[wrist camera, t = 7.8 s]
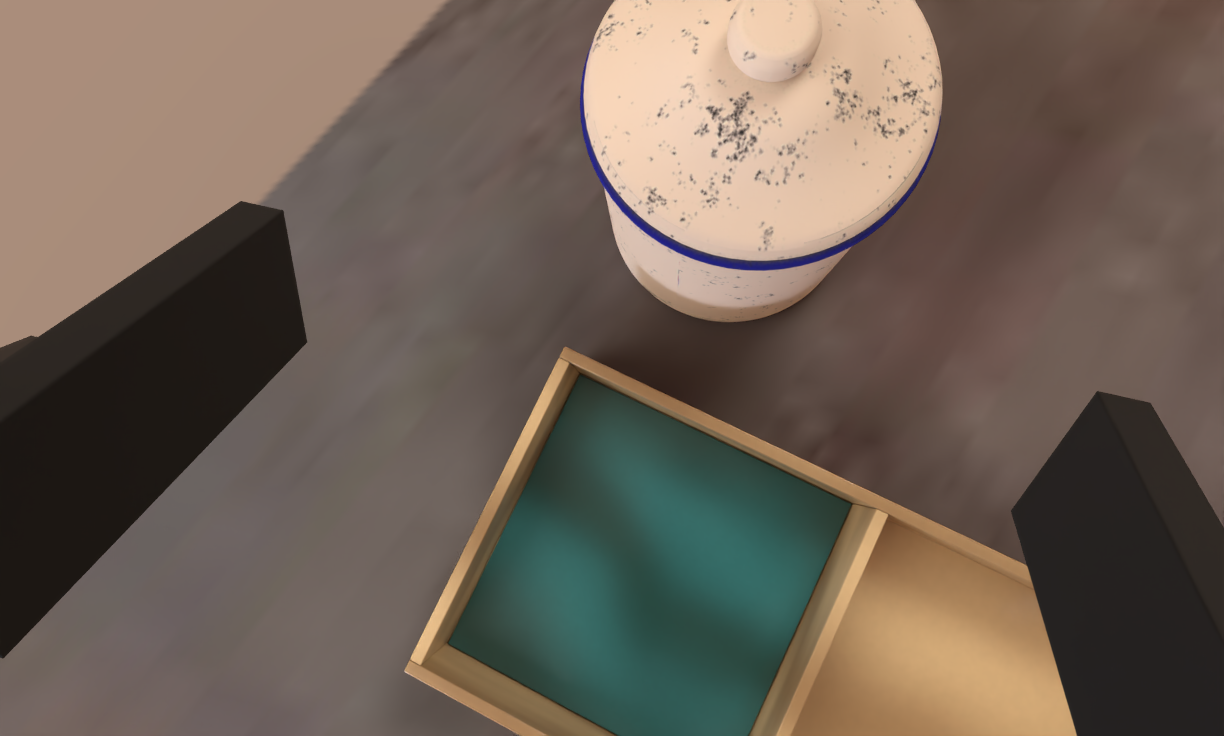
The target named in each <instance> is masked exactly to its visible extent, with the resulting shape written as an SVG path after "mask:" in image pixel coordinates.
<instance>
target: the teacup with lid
mask: <svg viewBox="0 0 1224 736" xmlns="http://www.w3.org/2000/svg"><path fill="white" fill-rule="evenodd" d="M941 108H942V74H941V67H940V60H939V56H938V52H937V48H936V45H935V42H934V39H933V36H932V33H931V31H930V28H929V26H928V24H927V22H926V20H925V18H924V16H923V13H922V12H921V10H920V8H919V7H918V5H917V4H916V2H915V0H615V1H614V2H613V3H612V5H611V6H610V8H609V10H608V11H607V13H606V15H605V16H604V18H603V20H602V22H601V24H600V26H599V28H598V30H597V32H596V35H595V37H594V39H593V41H592V44H591V47H590V49H589V52H588V55H587V58H586V62H585V66H584V70H583V76H582V83H581V96H580V111H581V123H582V129H583V135H584V140H585V143H586V147H587V151H588V154H589V157H590V159H591V162H592V164H593V167H594V169H595V171H596V173H597V175H598V177H599V179H600V181H601V183H602V185H603V186H604V189H605V194H606V199H607V203H608V208H609V213H610V218H611V222H612V227H613V232H614V235H615V239H616V243H617V245H618V248H619V250H620V253H621V255H622V257H623V259H624V261H625V263H626V265H627V266H628V268H629V269H630V271H631V272H632V274H633V275H634V276H635V277H636V279H637V280H638V281H639V282H640V283H641V284H642V285H643V286H644V287H645V288H646V290H647V291H649V292H650V293H651V294H652V295H653V296H655V297H656V298H657V299H659V300H660V301H662V302H663V303H665V304H666V305H668V306H670V307H672V308H673V309H675V310H677V311H680V312H682V313H684V314H687V315H690V316H693V317H696V318H700V319H705V320H709V321H718V322H741V321H749V320H755V319H759V318H763V317H766V316H769V315H772V314H775V313H777V312H780V311H782V310H784V309H786V308H788V307H790V306H791V305H793V304H795V303H796V302H798V301H799V300H801V299H802V298H804V297H805V296H806V295H807V294H809V293H810V292H811V291H812V290H813V289H814V288H815V287H816V286H817V285H818V284H819V283H820V282H821V281H822V280H823V279H824V278H825V276H826V275H827V274H828V273H829V272H830V271H831V270H832V269H833V267H834V266H835V265H836V264H837V263H838V262H839V261H840V260H841V258H842V257H843V256H844V255H845V254H846V253H847V252H848V251H849V249H850V248H851V247H852V246H853V245H855V244H857V243H858V242H860V241H861V240H863V239H865V238H866V237H868V236H869V235H870V234H872V233H873V232H874V231H876V230H877V229H878V228H879V227H881V226H882V225H883V224H884V223H885V222H886V221H887V220H888V219H889V218H890V217H891V216H892V215H894V214H895V212H896V211H897V210H898V209H899V208H900V207H901V206H902V204H903V203H904V202H905V201H906V200H907V198H908V197H909V196H910V194H911V193H912V191H913V190H914V188H915V187H916V185H917V184H918V182H919V180H920V178H921V177H922V175H923V173H924V171H925V169H926V167H927V165H928V162H929V160H930V158H931V155H932V153H933V149H934V146H935V143H936V139H937V136H938V131H939V125H940V120H941Z"/></svg>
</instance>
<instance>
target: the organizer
mask: <svg viewBox="0 0 1224 736" xmlns="http://www.w3.org/2000/svg"><path fill="white" fill-rule="evenodd" d="M404 672H406V673H408V674H409V675H411V676H413V677H415V678H417V679H418V680H420V681H422V682H424V683H426V684H428V685H429V686H431V687H433V688H435V689H437V690H438V691H440V692H442V693H444V694H446V695H448V696H449V697H451V698H453V699H455V700H457V701H458V702H460V703H462V704H464V705H466V706H468V707H469V708H471V709H473V710H475V711H477V712H478V713H480V714H482V715H484V716H486V717H488V718H489V719H491V720H493V721H495V722H497V723H498V724H500V725H502V726H504V727H506V728H507V729H509V730H511V731H513V732H515V733H517V734H518V735H520V736H1077V734H1076V731H1075V727H1074V724H1073V720H1072V717H1071V714H1070V710H1069V707H1068V703H1067V700H1066V697H1065V693H1064V690H1063V686H1062V683H1061V679H1060V676H1059V673H1058V669H1057V666H1056V662H1055V659H1054V656H1053V652H1052V649H1051V645H1050V642H1049V639H1048V635H1047V632H1046V628H1045V625H1044V622H1043V618H1042V615H1041V611H1040V608H1039V604H1038V601H1037V598H1036V594H1035V591H1034V587H1033V584H1032V581H1031V577H1030V574H1029V570H1028V567H1027V565H1025V564H1023V563H1021V562H1019V561H1016V560H1014V559H1012V558H1010V557H1008V556H1006V555H1004V554H1002V553H1000V552H997V551H995V550H993V549H991V548H989V547H987V546H985V545H983V544H981V543H978V542H976V541H974V540H972V539H970V538H968V537H966V536H964V535H962V534H959V533H957V532H955V531H953V530H951V529H949V528H947V527H945V526H943V525H941V524H938V523H936V522H934V521H932V520H930V519H928V518H926V517H924V516H922V515H919V514H917V513H915V512H913V511H911V510H909V509H907V508H905V507H903V506H900V505H898V504H896V503H894V502H892V501H890V500H888V499H886V498H884V497H882V496H879V495H877V494H875V493H873V492H871V491H869V490H867V489H865V488H863V487H860V486H858V485H856V484H854V483H852V482H850V481H848V480H846V479H844V478H841V477H839V476H837V475H835V474H833V473H831V472H829V471H827V470H825V469H823V468H820V467H818V466H816V465H814V464H812V463H810V462H808V461H806V460H804V459H801V458H799V457H797V456H795V455H793V454H791V453H789V452H787V451H785V450H782V449H780V448H778V447H776V446H774V445H772V444H770V443H768V442H766V441H764V440H761V439H759V438H757V437H755V436H753V435H751V434H749V433H747V432H745V431H742V430H740V429H738V428H736V427H734V426H732V425H730V424H728V423H726V422H723V421H721V420H719V419H717V418H715V417H713V416H711V415H709V414H707V413H704V412H702V411H700V410H698V409H696V408H694V407H692V406H690V405H688V404H686V403H683V402H681V401H679V400H677V399H675V398H673V397H671V396H669V395H667V394H664V393H662V392H660V391H658V390H656V389H654V388H652V387H650V386H648V385H645V384H643V383H641V382H639V381H637V380H635V379H633V378H631V377H629V376H627V375H624V374H622V373H620V372H618V371H616V370H614V369H612V368H610V367H608V366H605V365H603V364H601V363H599V362H597V361H595V360H593V359H591V358H589V357H586V356H584V355H582V354H580V353H578V352H576V351H574V350H572V349H570V348H568V347H564V348H563V351H562V353H561V355H560V358H559V359H558V361H557V363H556V365H555V367H554V369H553V371H552V373H551V375H550V377H549V379H548V381H547V383H546V385H545V387H544V389H543V391H542V393H541V395H540V397H539V399H538V401H537V403H536V405H535V407H534V409H533V411H532V413H531V415H530V417H529V419H528V421H527V423H526V425H525V427H524V429H523V431H522V433H521V435H520V438H519V440H518V442H517V444H516V446H515V448H514V450H513V452H512V454H511V456H510V458H509V460H508V462H507V464H506V466H505V468H504V470H503V472H502V474H501V476H500V478H499V480H498V482H497V484H496V486H495V488H494V490H493V492H492V494H491V496H490V498H489V500H488V502H487V504H486V506H485V508H484V510H483V512H482V514H481V516H480V518H479V520H478V522H477V525H476V527H475V529H474V531H473V533H472V535H471V537H470V539H469V541H468V543H467V545H466V547H465V549H464V551H463V553H462V555H461V557H460V559H459V561H458V563H457V565H456V567H455V569H454V571H453V573H452V575H451V577H450V579H449V581H448V583H447V585H446V587H445V589H444V591H443V593H442V595H441V597H440V599H439V601H438V603H437V605H436V607H435V609H434V611H433V614H432V616H431V618H430V620H429V622H428V624H427V626H426V628H425V630H424V632H423V634H422V636H421V638H420V640H419V642H418V644H417V646H416V648H415V650H414V652H413V654H412V656H411V660H410V661H409V662H408V664H407V666H406V668H405V671H404Z"/></svg>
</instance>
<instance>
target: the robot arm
mask: <svg viewBox="0 0 1224 736" xmlns="http://www.w3.org/2000/svg"><path fill="white" fill-rule="evenodd" d="M306 343H307V339H306V333H305V328H304V322H303V317H302V311H301V306H300V300H299V295H298V289H297V284H296V278H295V273H294V267H293V262H292V256H291V251H290V245H289V240H288V234H287V229H286V223H285V218H284V212H283V210H278V209H274V208H269V207H265V206H260V205H256V204H251V203H247V202H242V201H241V202H239V203H237V204H236V205H234V206H233V207H231V208H230V209H228V210H227V211H225V212H224V213H223V214H221V215H219V216H218V217H216V218H215V219H213V220H212V221H211V222H209V223H208V224H206V225H205V226H203V227H202V228H200V229H199V230H197V231H196V232H194V233H193V234H191V235H190V236H188V237H187V238H185V239H184V240H183V241H181V242H179V243H178V244H176V245H175V246H173V247H172V248H170V249H169V250H167V251H166V252H164V253H163V254H161V255H160V256H158V257H157V258H155V259H154V260H152V261H151V262H149V263H148V264H146V265H145V266H143V267H142V268H140V269H139V270H137V271H136V272H134V273H133V274H132V275H130V276H129V277H127V278H126V279H124V280H123V281H121V282H120V283H118V284H117V285H115V286H114V287H112V288H111V289H109V290H108V291H106V292H105V293H103V294H102V295H100V296H99V297H98V298H96V299H94V300H93V301H91V302H90V303H88V304H87V305H85V306H84V307H82V308H81V309H79V310H78V311H76V312H75V313H74V314H72V315H70V316H69V317H67V318H66V319H64V320H63V321H62V322H60V323H58V324H57V325H56V326H54V327H53V328H51V329H50V330H48V331H47V332H45V333H44V334H42V335H41V336H39V337H34V336H29V337H27V338H24V339H22V340H19V341H16V342H14V343H11V344H9V345H6V346H4V347H1V348H0V658H4V657H5V656H6V655H7V654H8V653H9V652H10V651H11V650H12V649H13V648H14V647H15V646H16V645H17V644H18V643H19V642H20V641H21V640H22V638H23V637H24V636H25V635H26V634H27V633H28V632H29V631H30V630H31V629H32V628H33V627H34V626H35V625H36V624H37V623H38V622H39V621H40V620H41V619H42V618H43V617H44V616H45V615H46V614H47V612H48V611H49V610H50V609H51V608H52V607H53V606H54V605H55V604H56V603H57V602H58V601H59V600H60V599H61V598H62V597H63V596H64V595H65V594H66V593H67V592H68V591H69V590H70V589H71V587H72V586H73V585H74V584H75V583H76V582H77V581H78V580H79V579H80V578H81V577H82V576H83V575H84V574H85V573H86V572H87V571H88V570H89V569H90V568H91V567H92V566H93V565H94V564H95V563H96V561H97V560H98V559H99V558H100V557H101V556H102V555H103V554H104V553H105V552H106V551H107V550H108V549H109V548H110V547H111V546H112V545H113V544H114V543H115V542H116V541H117V540H118V539H119V538H120V536H121V535H122V534H123V533H124V532H125V531H126V530H127V529H128V528H129V527H130V526H131V525H132V524H133V523H134V522H135V521H136V520H137V519H138V518H139V517H140V516H141V515H142V514H143V513H144V512H145V510H146V509H147V508H148V507H149V506H150V505H151V504H152V503H153V502H154V501H155V500H156V499H157V498H158V497H159V496H160V495H161V494H162V493H163V492H164V491H165V490H166V489H167V488H168V487H169V485H170V484H171V483H172V482H173V481H174V480H175V479H176V478H177V477H178V476H179V475H180V474H181V473H182V472H183V471H184V470H185V469H186V468H187V467H188V466H189V465H190V464H191V463H192V462H193V461H194V459H195V458H196V457H197V456H198V455H199V454H200V453H201V452H202V451H203V450H204V449H205V448H206V447H207V446H208V445H209V444H210V443H211V442H212V441H213V440H214V439H215V438H216V437H217V436H218V434H219V433H220V432H221V431H222V430H223V429H224V428H225V427H226V426H227V425H228V424H229V423H230V422H231V421H232V420H233V419H234V418H235V417H236V416H237V415H238V414H239V413H240V412H241V411H242V410H243V408H244V407H245V406H246V405H247V404H248V403H249V402H250V401H251V400H252V399H253V398H254V397H255V396H256V395H257V394H258V393H259V392H260V391H261V390H262V389H263V388H264V387H265V386H266V385H267V383H268V382H269V381H270V380H271V379H272V378H273V377H274V376H275V375H276V374H277V373H278V372H279V371H280V370H281V369H282V368H283V367H284V366H285V365H286V364H287V363H288V362H289V361H290V360H291V358H292V357H293V356H294V355H295V354H296V353H297V352H298V351H299V350H300V349H301V348H302V347H303V346H304V345H305V344H306ZM1011 512H1012V516H1013V519H1014V523H1015V526H1016V529H1017V533H1018V536H1019V540H1020V543H1021V546H1022V550H1023V553H1024V557H1025V560H1026V564H1027V567H1028V570H1029V574H1030V577H1031V581H1032V584H1033V587H1034V591H1035V594H1036V598H1037V601H1038V604H1039V608H1040V611H1041V615H1042V618H1043V622H1044V625H1045V628H1046V632H1047V635H1048V639H1049V642H1050V645H1051V649H1052V652H1053V656H1054V659H1055V662H1056V666H1057V669H1058V673H1059V676H1060V679H1061V683H1062V686H1063V690H1064V693H1065V697H1066V700H1067V703H1068V707H1069V710H1070V714H1071V717H1072V720H1073V724H1074V727H1075V731H1076V734H1077V736H1224V528H1223V526H1222V524H1221V522H1220V521H1219V519H1218V517H1217V516H1216V514H1215V512H1214V510H1213V509H1212V507H1211V505H1210V504H1209V502H1208V500H1207V499H1206V497H1205V495H1204V493H1203V492H1202V490H1201V488H1200V487H1199V485H1198V483H1197V482H1196V480H1195V478H1194V476H1193V475H1192V473H1191V471H1190V470H1189V468H1188V466H1187V464H1186V463H1185V461H1184V459H1183V458H1182V456H1181V454H1180V453H1179V451H1178V449H1177V447H1176V446H1175V444H1174V442H1173V441H1172V439H1171V437H1170V435H1169V434H1168V432H1167V430H1166V429H1165V427H1164V425H1163V424H1162V422H1161V420H1160V418H1159V417H1158V415H1157V413H1156V412H1155V410H1154V408H1153V407H1152V405H1151V403H1148V402H1144V401H1139V400H1135V399H1130V398H1126V397H1121V396H1117V395H1112V394H1108V393H1103V392H1099V391H1097V392H1096V394H1095V395H1094V396H1093V398H1092V399H1091V401H1090V402H1089V403H1088V405H1087V406H1086V407H1085V409H1084V410H1083V412H1082V413H1081V414H1080V416H1079V417H1078V419H1077V420H1076V421H1075V423H1074V424H1073V426H1072V427H1071V428H1070V430H1069V431H1068V432H1067V434H1066V435H1065V437H1064V438H1063V439H1062V441H1061V442H1060V444H1059V445H1058V446H1057V448H1056V449H1055V451H1054V452H1053V453H1052V455H1051V456H1050V457H1049V459H1048V460H1047V462H1046V463H1045V464H1044V466H1043V467H1042V469H1041V470H1040V471H1039V473H1038V474H1037V476H1036V477H1035V478H1034V480H1033V481H1032V482H1031V484H1030V485H1029V487H1028V488H1027V489H1026V491H1025V492H1024V494H1023V495H1022V496H1021V498H1020V499H1019V501H1018V502H1017V503H1016V505H1015V506H1014V507H1013V509H1012V510H1011Z"/></svg>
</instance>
